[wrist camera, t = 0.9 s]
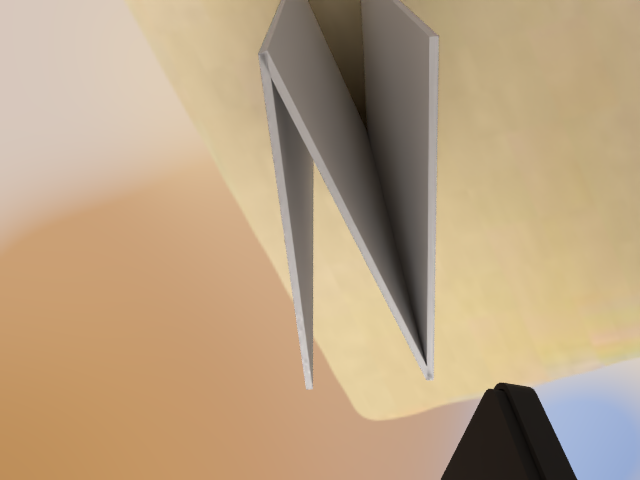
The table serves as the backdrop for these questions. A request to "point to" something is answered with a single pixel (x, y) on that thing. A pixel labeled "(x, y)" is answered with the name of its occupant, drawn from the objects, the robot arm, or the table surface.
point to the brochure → (359, 157)
